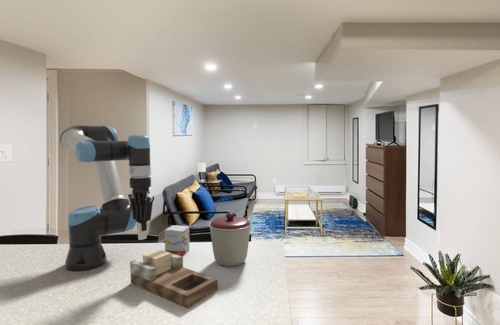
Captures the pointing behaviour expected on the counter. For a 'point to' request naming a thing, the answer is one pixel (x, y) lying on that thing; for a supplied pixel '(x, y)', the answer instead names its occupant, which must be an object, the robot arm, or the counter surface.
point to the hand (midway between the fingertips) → (142, 238)
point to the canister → (230, 239)
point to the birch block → (158, 260)
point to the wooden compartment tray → (174, 282)
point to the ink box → (177, 240)
